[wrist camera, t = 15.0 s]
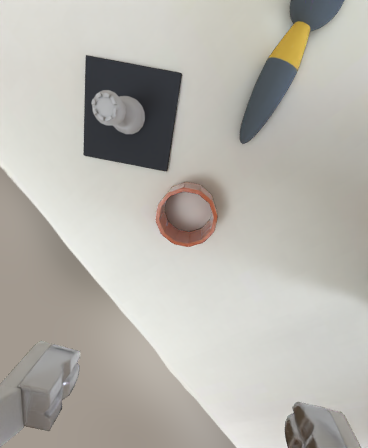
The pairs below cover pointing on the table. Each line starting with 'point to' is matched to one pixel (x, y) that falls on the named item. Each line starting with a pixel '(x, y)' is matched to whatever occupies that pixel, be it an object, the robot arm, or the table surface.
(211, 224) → the brown hollow cylinder
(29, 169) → the table surface
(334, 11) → the paintbrush
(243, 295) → the table surface
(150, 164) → the pad
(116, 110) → the rook chess piece
